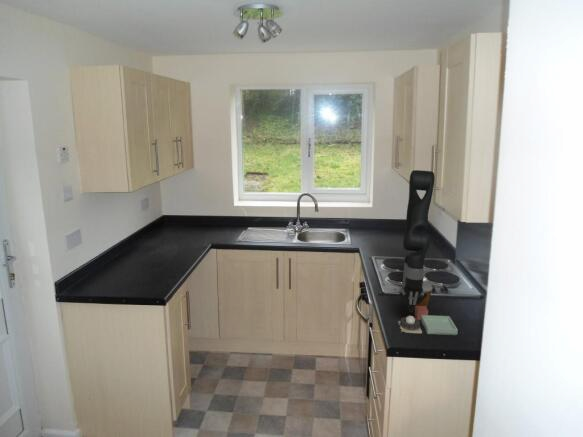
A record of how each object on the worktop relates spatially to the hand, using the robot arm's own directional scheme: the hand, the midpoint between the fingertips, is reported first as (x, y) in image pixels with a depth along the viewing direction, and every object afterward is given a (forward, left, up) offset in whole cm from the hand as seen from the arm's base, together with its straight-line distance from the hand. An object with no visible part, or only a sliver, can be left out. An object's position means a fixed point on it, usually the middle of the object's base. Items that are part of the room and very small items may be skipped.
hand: (411, 311), depth 204 cm
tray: (-2, +13, -8) cm, 16 cm away
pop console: (0, 0, -8) cm, 8 cm away
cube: (-11, +7, -9) cm, 16 cm away
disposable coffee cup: (-24, +10, -9) cm, 27 cm away
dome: (0, 0, -6) cm, 7 cm away
